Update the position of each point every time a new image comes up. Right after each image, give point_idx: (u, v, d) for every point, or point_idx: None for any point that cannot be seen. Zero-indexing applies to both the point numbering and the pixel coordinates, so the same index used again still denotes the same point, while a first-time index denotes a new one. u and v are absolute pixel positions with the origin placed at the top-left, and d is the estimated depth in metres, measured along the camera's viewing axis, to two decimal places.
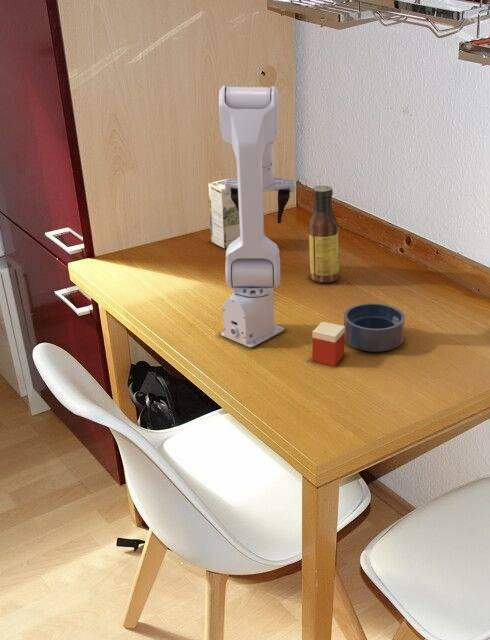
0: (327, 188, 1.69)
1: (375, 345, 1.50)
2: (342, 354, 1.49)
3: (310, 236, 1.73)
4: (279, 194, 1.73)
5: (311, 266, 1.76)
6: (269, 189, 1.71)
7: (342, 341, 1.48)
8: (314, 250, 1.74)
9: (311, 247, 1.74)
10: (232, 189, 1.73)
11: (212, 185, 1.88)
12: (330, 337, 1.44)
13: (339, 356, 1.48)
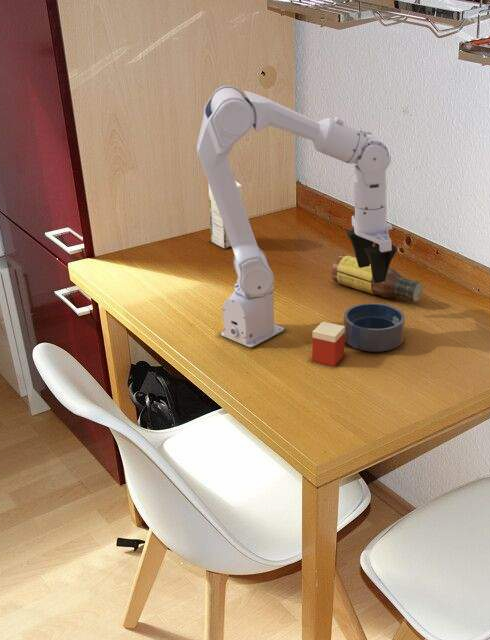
0: (418, 296, 1.68)
1: (375, 345, 1.50)
2: (342, 354, 1.49)
3: (371, 275, 1.69)
4: (371, 247, 1.49)
5: (344, 267, 1.72)
6: (362, 236, 1.50)
7: (342, 341, 1.48)
8: (358, 277, 1.71)
9: (361, 274, 1.70)
10: None
11: None
12: (330, 337, 1.44)
13: (339, 356, 1.48)
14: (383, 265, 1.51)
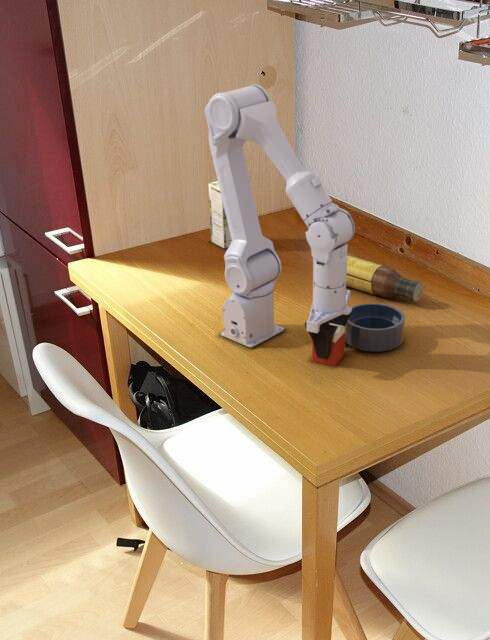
0: (418, 296, 1.68)
1: (375, 345, 1.50)
2: (342, 354, 1.49)
3: (371, 275, 1.69)
4: None
5: None
6: None
7: (342, 341, 1.48)
8: (358, 277, 1.71)
9: (361, 274, 1.70)
10: None
11: (212, 185, 1.87)
12: None
13: (339, 356, 1.48)
14: (324, 342, 1.44)
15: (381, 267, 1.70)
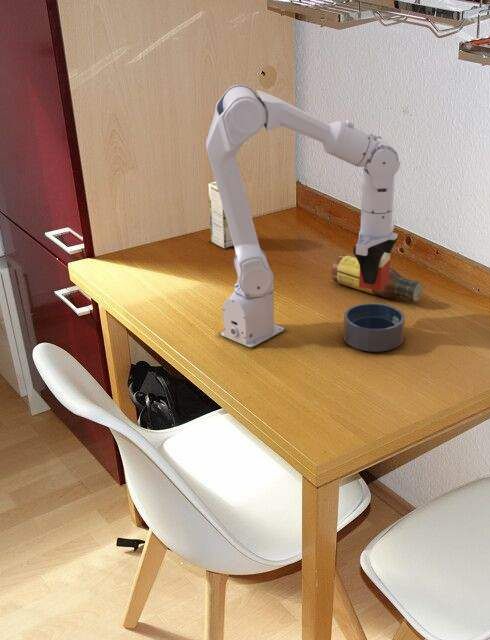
0: (418, 296, 1.68)
1: (375, 345, 1.50)
2: (387, 280, 1.57)
3: None
4: None
5: (344, 267, 1.72)
6: (359, 235, 1.51)
7: (387, 268, 1.56)
8: (358, 277, 1.71)
9: None
10: None
11: (212, 185, 1.87)
12: None
13: (384, 282, 1.56)
14: (371, 267, 1.52)
15: None
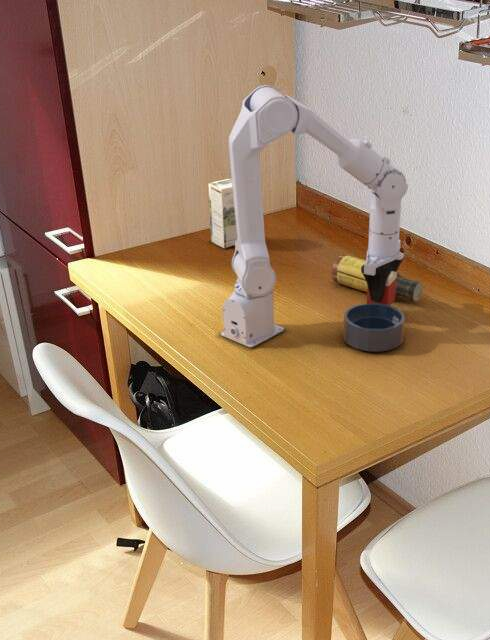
0: (418, 296, 1.68)
1: (375, 345, 1.50)
2: (393, 298, 1.63)
3: None
4: None
5: (344, 267, 1.72)
6: None
7: (394, 286, 1.61)
8: (358, 277, 1.71)
9: (361, 274, 1.70)
10: None
11: (212, 185, 1.87)
12: None
13: (391, 299, 1.61)
14: (378, 286, 1.58)
15: None
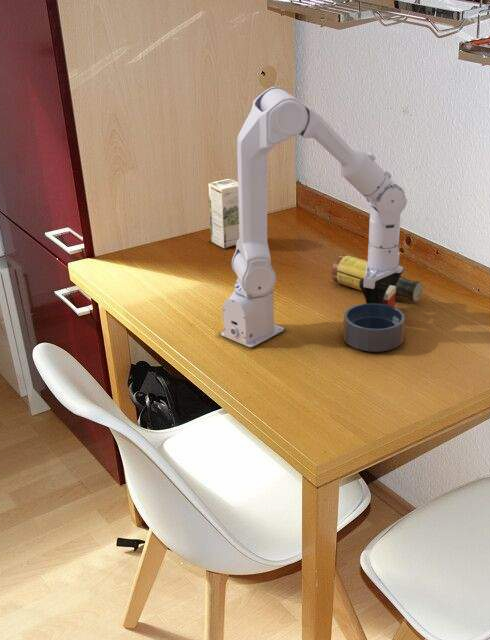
0: (418, 296, 1.68)
1: (375, 345, 1.50)
2: None
3: None
4: None
5: (344, 267, 1.72)
6: (366, 268, 1.58)
7: (393, 300, 1.63)
8: (358, 277, 1.71)
9: (361, 274, 1.70)
10: None
11: (212, 185, 1.87)
12: (384, 296, 1.59)
13: None
14: (376, 300, 1.59)
15: None
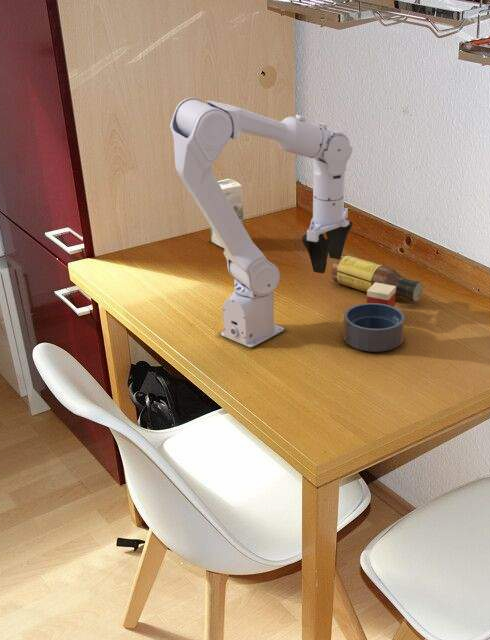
0: (418, 296, 1.68)
1: (375, 345, 1.50)
2: None
3: (371, 275, 1.69)
4: None
5: (344, 267, 1.72)
6: (311, 222, 1.54)
7: (393, 300, 1.63)
8: (358, 277, 1.71)
9: (361, 274, 1.70)
10: None
11: None
12: (384, 296, 1.59)
13: None
14: (320, 256, 1.54)
15: (381, 267, 1.70)
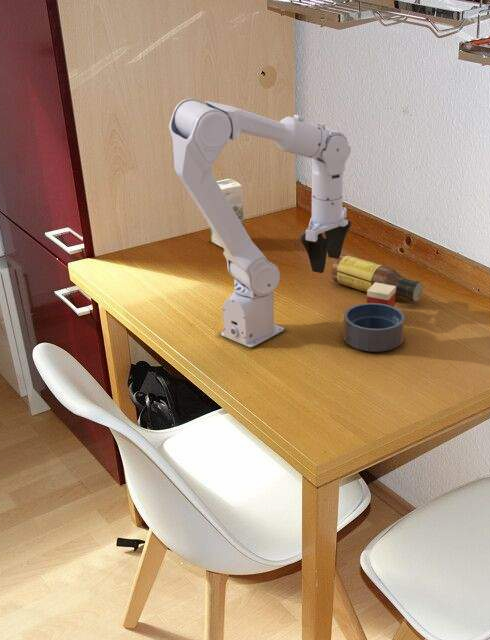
0: (418, 296, 1.68)
1: (375, 345, 1.50)
2: None
3: (371, 275, 1.69)
4: None
5: (344, 267, 1.72)
6: (310, 222, 1.54)
7: (393, 300, 1.63)
8: (358, 277, 1.71)
9: (361, 274, 1.70)
10: None
11: None
12: (384, 296, 1.59)
13: None
14: (319, 256, 1.54)
15: (381, 267, 1.70)
